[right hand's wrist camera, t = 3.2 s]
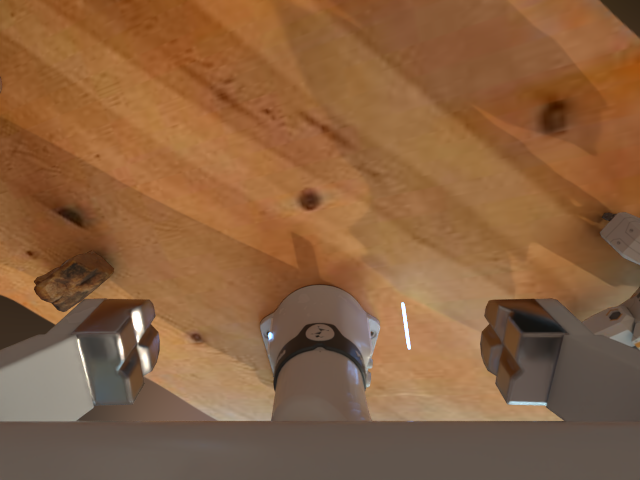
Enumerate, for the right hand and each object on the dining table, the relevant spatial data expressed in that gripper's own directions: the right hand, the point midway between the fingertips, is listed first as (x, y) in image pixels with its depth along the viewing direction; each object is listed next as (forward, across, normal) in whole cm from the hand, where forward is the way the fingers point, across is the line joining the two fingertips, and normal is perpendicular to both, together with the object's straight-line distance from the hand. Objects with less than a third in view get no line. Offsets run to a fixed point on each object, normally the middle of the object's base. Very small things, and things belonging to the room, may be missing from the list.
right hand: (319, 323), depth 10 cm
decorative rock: (+48, -35, -21) cm, 63 cm away
